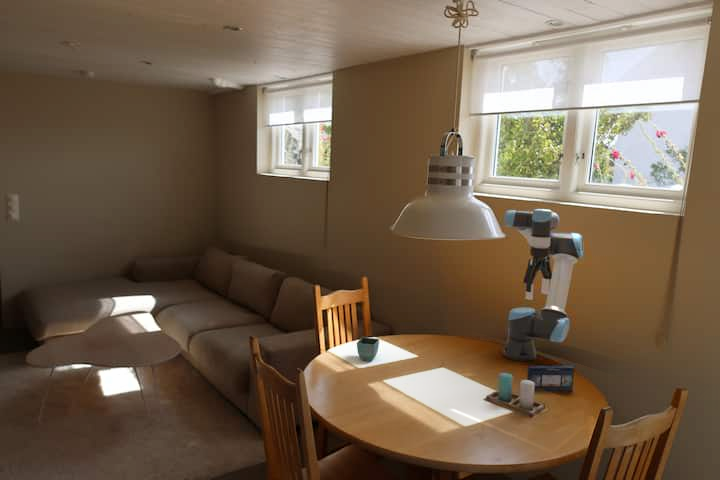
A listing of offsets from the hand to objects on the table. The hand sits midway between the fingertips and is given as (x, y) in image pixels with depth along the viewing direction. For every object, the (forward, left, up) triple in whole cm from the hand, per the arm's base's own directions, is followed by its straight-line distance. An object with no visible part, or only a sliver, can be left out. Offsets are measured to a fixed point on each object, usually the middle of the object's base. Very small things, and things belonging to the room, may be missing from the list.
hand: (536, 296), depth 217 cm
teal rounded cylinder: (+28, +4, -36) cm, 46 cm away
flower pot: (+36, -64, -37) cm, 82 cm away
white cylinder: (+28, +12, -36) cm, 47 cm away
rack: (+28, +8, -37) cm, 47 cm away
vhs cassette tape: (+4, +10, -37) cm, 39 cm away
